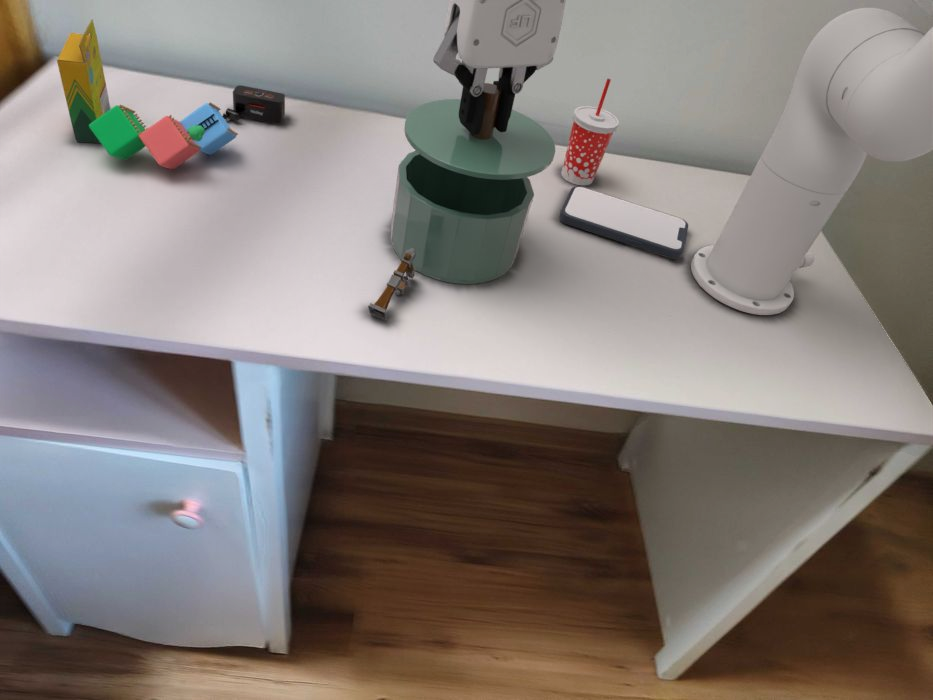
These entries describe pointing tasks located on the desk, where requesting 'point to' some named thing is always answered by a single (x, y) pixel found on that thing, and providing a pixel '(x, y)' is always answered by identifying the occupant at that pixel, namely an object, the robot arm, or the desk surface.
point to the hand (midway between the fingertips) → (482, 125)
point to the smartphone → (625, 222)
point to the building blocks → (163, 134)
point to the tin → (458, 221)
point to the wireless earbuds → (256, 105)
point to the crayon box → (83, 82)
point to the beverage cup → (588, 142)
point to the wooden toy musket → (394, 285)
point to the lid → (479, 140)
